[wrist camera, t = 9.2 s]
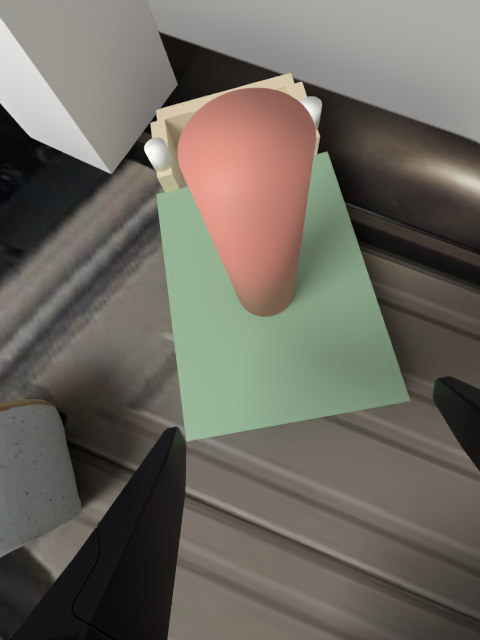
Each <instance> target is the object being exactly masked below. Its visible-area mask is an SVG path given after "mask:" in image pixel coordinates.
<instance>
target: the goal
mask: <svg viewBox="0 0 480 640" xmlns="http://www.w3.org/2000/svg"><path fill="white" fill-rule="evenodd" d="M245 88H269V89H274V90H278V91H281V92H284V93H286V94H288V95H290V96H292V97H293V98H295V99H297V100H298V101H299V102H300V103H301V104H303V105H304V107H305V108H306V109H307V110H308V112H309V113H310V115H311V117H312V119H313V122H314V124H315V129H316V144H315V151H314V155H317V151H318V145H319V140H320V135H319V132H318V127H319V121H320V115H321V109H322V102H321V100H320V99H318V98H317V97H312V96H310V97H307V96H306V93H305V89H304V86H303V83H302V82H300V83H296V84H294V81H293V78H292V75H291V73H289V74H285V75H282V76H278V77H274V78H271V79H267V80H263V81H260V82H256V83H252V84H249V85H245V86H242V87H238V88H234V89H231V90H227V91H223V92H220V93H216V94H212V95H209V96H205V97H201V98H198V99H194V100H191V101H187V102H183V103H180V104H176V105H172V106H169V107H165V108H161V109H158V110H156V114H157V121H156V122H152V123H150V124H151V132H152V139H150V140H149V141H148V142H147V143H146V144H145V147H144V150H145V153H146V154H147V156H148V158H149V160H150V162H151V164H152V165H153V167H154V169H155V170H156V172H157V179H158V180H159V182H160V184H161V186H162V187H163V189H164V191H165V193H166V192H170V191H174V190H178V189H180V188H184V187H188V185H187V183H186V180H185V178H184V176H183V174H182V171H181V169H180V166H179V162H178V143H179V139H180V136H181V134H182V131H183V129H184V127H185V126H186V124H187V122H188V121H189V120H190V118H191V117H192V116H193V115H194V114H195V113H196V112H197V111H198V110H199V109H200V108H201V107H203V106H204V105H205V104H207V103H208V102H210V101H211V100H213V99H215V98H217V97H218V96H221V95H223V94H225V93H228V92H231V91H235V90H239V89H245Z"/></svg>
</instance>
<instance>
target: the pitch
mask: <svg viewBox="0 0 480 640" xmlns="http://www.w3.org/2000/svg"><path fill="white" fill-rule="evenodd" d="M156 195H157V203H158V212H159V220H160V228H161V236H162V244H163V253H164V261H165V269H166V277H167V286H168V294H169V302H170V310H171V318H172V327H173V335H174V343H175V351H176V359H177V368H178V376H179V384H180V392H181V401H182V409H183V417H184V425H185V433H186V441H191V440H197V439H202V438H208V437H214V436H219V435H225V434H230V433H236V432H241V431H247V430H252V429H258V428H263V427H269V426H275V425H280V424H286V423H291V422H297V421H302V420H308V419H313V418H319V417H325V416H330V415H336V414H341V413H347V412H352V411H358V410H363V409H369V408H375V407H380V406H386V405H391V404H397V403H402V402H408V401H410V398H409V395H408V392H407V389H406V386H405V383H404V380H403V377H402V374H401V371H400V368H399V365H398V362H397V359H396V356H395V353H394V350H393V347H392V344H391V341H390V338H389V335H388V332H387V329H386V326H385V323H384V320H383V317H382V314H381V311H380V308H379V305H378V302H377V299H376V296H375V293H374V290H373V287H372V284H371V281H370V278H369V275H368V272H367V269H366V266H365V263H364V260H363V257H362V254H361V251H360V248H359V245H358V242H357V239H356V236H355V233H354V230H353V227H352V224H351V221H350V218H349V215H348V212H347V209H346V206H345V203H344V200H343V197H342V194H341V191H340V188H339V185H338V182H337V179H336V176H335V173H334V170H333V167H332V164H331V161H330V158H329V155H328V152H324V153H320V154H317V155H314V158H313V165H312V172H311V179H310V186H309V193H308V200H307V207H306V214H305V221H304V228H303V235H302V242H301V249H300V256H299V263H298V270H297V277H296V284H295V291H294V296H293V299H292V301H291V303H290V305H289V306H288V307H287V308H286V309H285V310H284V311H282V312H281V313H279V314H277V315H274V316H269V317H261V316H256V315H254V314H252V313H250V312H248V311H247V310H246V309H245V308H244V307H243V306H242V305H241V303H240V301H239V299H238V296H237V294H236V292H235V290H234V287H233V285H232V283H231V281H230V279H229V276H228V274H227V272H226V270H225V267H224V265H223V263H222V261H221V258H220V256H219V254H218V252H217V249H216V247H215V245H214V243H213V241H212V238H211V236H210V234H209V232H208V229H207V227H206V225H205V223H204V220H203V218H202V216H201V214H200V212H199V209H198V207H197V205H196V203H195V200H194V198H193V196H192V194H191V191H190V189H189V187H184V188H180V189H178V190H174V191H170V192H166V193H165V192H164V193H160V194H156Z"/></svg>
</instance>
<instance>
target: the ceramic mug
mask: <svg viewBox="0 0 480 640" xmlns="http://www.w3.org/2000/svg"><path fill="white" fill-rule="evenodd" d="M80 513H81V502H80V499H79V496H78V492H77V487H76V481H75V476H74V472H73V467H72V463H71V459H70V455H69V451H68V447H67V443H66V437H65V431H64V427H63V423H62V420H61V418H60V416H59V413H58V411H57V409H56V407H55V406H54V405H53V404H51V403H49V402H47V401H45V400H40V399H23V400H14V401H7V402H0V557H2V556H4V555H6V554H7V553H9V552H11V551H13V550H15V549H17V548H19V547H21V546H23V545H25V544H27V543H29V542H31V541H33V540H35V539H37V538H38V537H40V536H42V535H44V534H46V533H48V532H50V531H52V530H53V529H55V528H57V527H59V526H60V525H62V524H64V523H66V522H68V521H70V520H71V519H73V518H75V517H76V516H78V515H79V514H80Z"/></svg>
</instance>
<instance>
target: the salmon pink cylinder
mask: <svg viewBox="0 0 480 640" xmlns="http://www.w3.org/2000/svg"><path fill="white" fill-rule="evenodd" d="M315 144H316V129H315V124H314V122H313V119H312V117H311V115H310V113H309V112H308V110H307V109H306V108H305V107H304V105H303V104H301V103H300V102H299V101H298V100H297V99H295V98H293V97H292V96H290V95H288V94H286V93H284V92H281V91H278V90H274V89H269V88H245V89H239V90H235V91H231V92H228V93H225V94H223V95H221V96H218V97H217V98H215V99H213V100H211V101H210V102H208V103H207V104H205V105H204V106H203V107H201V108H200V109H199V110H198V111H197V112H196V113H195V114H194V115H193V116H192V117H191V118H190V120H189V121H188V122H187V124H186V126H185V127H184V129H183V131H182V134H181V136H180V139H179V143H178V162H179V166H180V169H181V171H182V174H183V176H184V178H185V180H186V183H187V185H188V187H189V189H190V191H191V194H192V196H193V198H194V200H195V203H196V205H197V207H198V209H199V212H200V214H201V216H202V218H203V220H204V223H205V225H206V227H207V229H208V232H209V234H210V236H211V238H212V241H213V243H214V245H215V247H216V249H217V252H218V254H219V256H220V258H221V261H222V263H223V265H224V267H225V270H226V272H227V274H228V276H229V279H230V281H231V283H232V285H233V287H234V290H235V292H236V294H237V296H238V299H239V301H240V303H241V305H242V306H243V307H244V308H245V309H246V310H247V311H248V312H250V313H252V314H254V315H256V316H261V317H269V316H274V315H277V314H279V313H281V312H282V311H284V310H285V309H286V308H287V307H288V306H289V305H290V303H291V301H292V299H293V296H294V291H295V284H296V277H297V270H298V263H299V256H300V249H301V242H302V235H303V228H304V221H305V214H306V207H307V200H308V193H309V186H310V179H311V172H312V165H313V158H314V151H315Z"/></svg>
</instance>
